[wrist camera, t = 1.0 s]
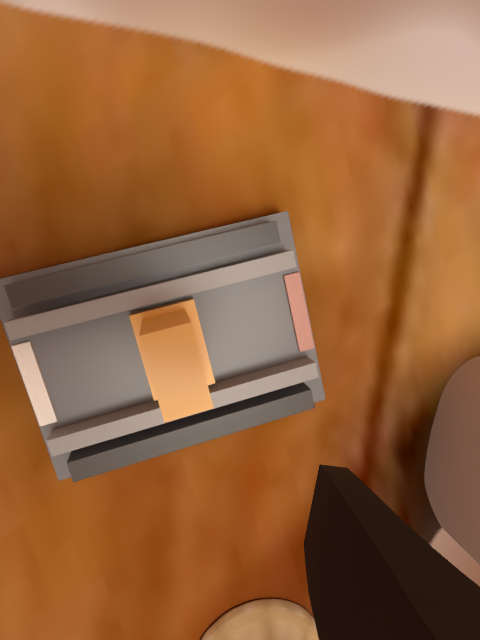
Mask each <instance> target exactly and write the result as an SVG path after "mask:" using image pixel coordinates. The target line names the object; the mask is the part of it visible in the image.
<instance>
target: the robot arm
mask: <svg viewBox="0 0 480 640" xmlns="http://www.w3.org/2000/svg"><path fill="white" fill-rule="evenodd" d="M304 552H305V563H306V573H307V582H308V592H309V597H310V601H311V606H312V611H313V615H314V620H315V625H316V629H317V634H318V638H319V640H480V587H479V586H478V585H477V584H476V583H474V582H473V581H472V580H471V579H469V578H468V577H466V575H464V574H463V573H462V572H461V571H459V570H458V569H457V568H456V567H455V566H454V565H452V564H451V563H450V562H449V561H448V560H447V559H445V558H444V557H443V556H442V555H441V554H439V553H438V552H437V551H436V550H434V549H433V548H432V547H431V546H430V545H429V544H428V543H427V542H426V541H425V540H423V539H422V538H421V537H420V536H419V535H418V534H417V533H416V532H415V531H413V530H412V529H411V528H410V527H409V526H408V525H407V524H406V523H405V522H404V521H403V520H402V519H401V518H400V517H398V516H397V515H396V514H395V513H394V512H393V511H392V510H391V509H390V508H389V507H388V506H387V505H386V504H385V503H384V502H383V501H382V500H381V499H380V498H379V497H378V496H377V495H376V494H375V493H374V492H373V491H372V490H371V489H370V488H369V487H367V486H366V485H365V484H364V483H363V482H362V481H361V480H360V479H359V478H358V477H357V476H356V475H355V474H354V473H353V472H351V471H350V470H349V469H348V468H343V467H335V466H327V465H319V470H318V475H317V480H316V485H315V490H314V495H313V500H312V505H311V510H310V515H309V520H308V525H307V530H306V535H305V540H304Z"/></svg>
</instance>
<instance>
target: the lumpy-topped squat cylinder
mask: <svg viewBox="0 0 480 640" xmlns="http://www.w3.org/2000/svg"><path fill="white" fill-rule="evenodd" d="M424 481H425V488H426V492H427V495H428V498H429V501H430V504H431V507H432V509H433V512H434V514H435V516H436V518H437V520H438V522H439V523H440V525H441V526H442V528H443V529H444V530H445V531H446V532H447V533H448V534H449V535H450V536H451V537H452V538H453V539H454V540H455V541H456V542H458V544H459V545H460V546H461V547H463V549H464V550H465V551H466V552H467V553H468V554H470V556H471V557H473V559H474V560H475V561H477V563H479V564H480V356H477V357H474V358H472V359H470V360H468V361H467V362H465V363H464V364H463V365H461V366H460V367H459V368H458V369H457V370H456V371H455V372H454V374H453V375H452V376H451V378H450V379H449V381H448V382H447V384H446V386H445V388H444V390H443V392H442V395H441V398H440V401H439V404H438V408H437V411H436V415H435V418H434V422H433V425H432V429H431V434H430V438H429V443H428V449H427V455H426V463H425V474H424Z"/></svg>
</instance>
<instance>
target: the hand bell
mask: <svg viewBox="0 0 480 640" xmlns="http://www.w3.org/2000/svg"><path fill="white" fill-rule="evenodd" d="M201 640H319V638H318V634H317V629H316V625H315V620H314V618H313V617H312V615H311V614H310V613H309V612H308V611H307V610H306V609H304V608H303V607H302V606H300V605H298V604H295V603H293V602H291V601H287V600H283V599H260V600H254V601H251V602H247V603H245V604H242V605H240V606H238V607H235V608H233V609H231V610H230V611H228V612H227V613H225V614H224V615H223V616H221V617H220V618H219V619H218V620H217V621H216V622H214V623H213V625H212V626H211V627H210V628H209V629H208V630H207V631H206V633H205V634H204V635H203V637H202V639H201Z"/></svg>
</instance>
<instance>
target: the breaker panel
mask: <svg viewBox="0 0 480 640" xmlns="http://www.w3.org/2000/svg"><path fill="white" fill-rule="evenodd" d="M191 297H193V299H194V302H195V306H196V310H197V313H198V317H199V321H200V325H201V329H202V333H203V337H204V341H205V344H206V348H207V352H208V356H209V360H210V364H211V368H212V372H213V376H214V379H215V384H211V385H208V388H209V392H210V396H211V399H212V403H213V407H214V408H213V409H210V410H206V411H203V412H200V413H196V414H193V415H190V416H186V417H183V418H179V419H176V420H173V421H169V422H166V423H164V420H163V416H162V413H161V410H160V406H159V403H158V400H156V401H154V399H153V396H152V392H151V389H150V385H149V382H148V379H147V375H146V372H145V368H144V365H143V362H142V358H141V355H140V351H139V348H138V345H137V341H136V338H135V334H134V331H133V327H132V324H131V321H130V317H129V315H130V313H133V312H137V311H141V310H145V309H149V308H152V307H156V306H160V305H164V304H168V303H172V302H176V301H180V300H183V299H187V298H191ZM0 319H1V322H2V324H3V327H4V330H5V333H6V335H7V338H8V341H9V344H10V347H11V349H12V352H13V355H14V358H15V360H16V363H17V366H18V369H19V372H20V374H21V377H22V380H23V383H24V385H25V388H26V391H27V394H28V396H29V399H30V402H31V405H32V408H33V410H34V413H35V416H36V419H37V421H38V424H39V427H40V430H41V433H42V435H43V438H44V441H45V444H46V446H47V449H48V452H49V455H50V458H51V460H52V463H53V466H54V469H55V471H56V474H57V477H58V480H59V481H60V480H63V479H67V478H70V477H72V480H73V482H76V481H79V480H82V479H85V478H89V477H92V476H95V475H98V474H102V473H105V472H108V471H111V470H115V469H118V468H121V467H124V466H128V465H131V464H134V463H137V462H141V461H144V460H147V459H150V458H154V457H157V456H160V455H163V454H167V453H170V452H173V451H176V450H180V449H183V448H186V447H189V446H193V445H196V444H199V443H202V442H206V441H209V440H212V439H215V438H219V437H222V436H225V435H228V434H232V433H235V432H238V431H241V430H245V429H248V428H251V427H254V426H258V425H261V424H264V423H267V422H271V421H274V420H277V419H280V418H284V417H287V416H290V415H293V414H297V413H300V412H303V411H306V410H310V409H313V408H315V405H314V403H315V402H318V401H321V400H325V394H324V389H323V384H322V379H321V374H320V369H319V364H318V359H317V354H316V349H315V344H314V339H313V334H312V329H311V324H310V319H309V314H308V309H307V304H306V299H305V294H304V289H303V284H302V279H301V274H300V269H299V264H298V259H297V254H296V249H295V244H294V239H293V234H292V229H291V224H290V219H289V214H288V211H285V212H281V213H277V214H272V215H268V216H264V217H260V218H255V219H251V220H247V221H243V222H238V223H234V224H230V225H226V226H221V227H217V228H213V229H209V230H204V231H200V232H196V233H192V234H187V235H183V236H179V237H175V238H171V239H166V240H162V241H158V242H154V243H149V244H145V245H141V246H137V247H132V248H128V249H124V250H120V251H115V252H111V253H107V254H103V255H98V256H94V257H90V258H86V259H82V260H77V261H73V262H69V263H65V264H60V265H56V266H52V267H48V268H43V269H39V270H35V271H31V272H26V273H22V274H18V275H14V276H9V277H5V278H1V279H0Z"/></svg>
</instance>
